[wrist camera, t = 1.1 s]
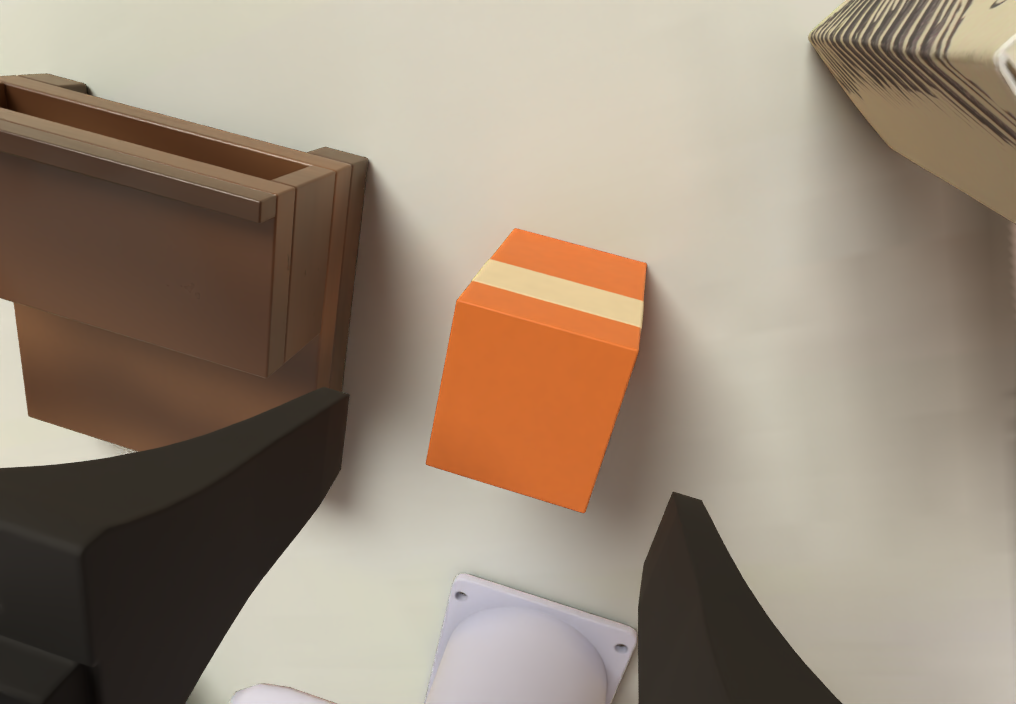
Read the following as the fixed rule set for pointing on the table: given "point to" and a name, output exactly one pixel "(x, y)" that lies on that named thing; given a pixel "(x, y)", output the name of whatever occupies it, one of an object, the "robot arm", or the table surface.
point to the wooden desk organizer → (168, 265)
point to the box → (934, 85)
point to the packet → (538, 368)
